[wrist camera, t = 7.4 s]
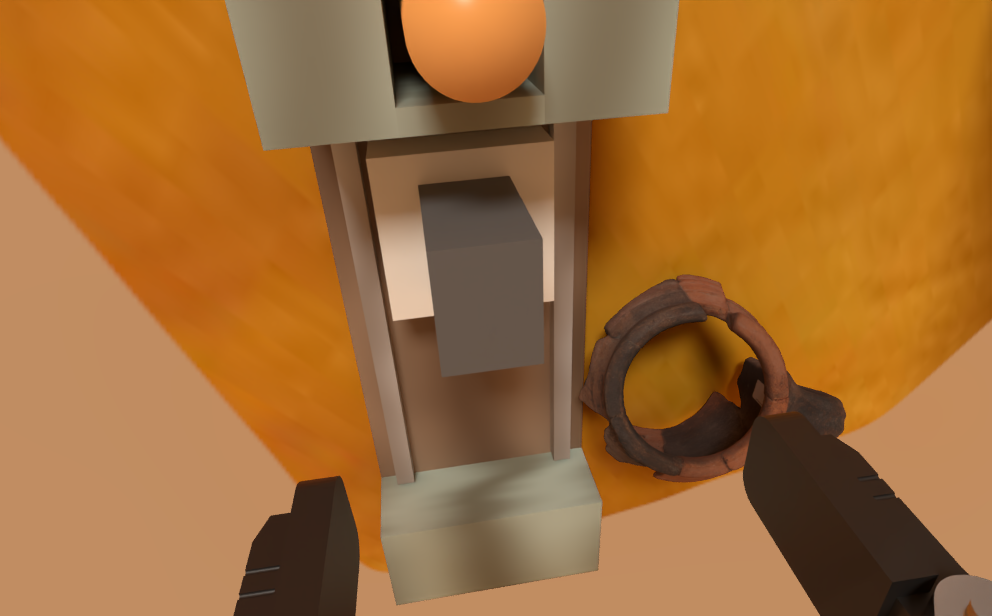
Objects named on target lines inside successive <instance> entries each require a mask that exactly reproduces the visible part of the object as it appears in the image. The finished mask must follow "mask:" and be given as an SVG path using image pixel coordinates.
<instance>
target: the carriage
mask: <svg viewBox="0 0 992 616" xmlns="http://www.w3.org/2000/svg"><path fill="white" fill-rule="evenodd" d="M366 163H367V169H368V175H369V181H370V187H371V193H372V199H373V205H374V211H375V217H376V223H377V229H378V234H379V240H380V246H381V252H382V258H383V264H384V270H385V276H386V282H387V288H388V294H389V300H390V306H391V312H392V318H393V321H397V320H405V319H413V318H421V317H429V316H434V319H435V327H436V335H437V343H438V351H439V359H440V367H441V375H442V377H449V376H456V375H464V374H471V373H479V372H486V371H493V370H501V369H508V368H515V367H523V366H530V365H538V364H544V302H549V301H554V140H553V139H552V138H551V137H550V136H549V134H548V133H547V132H546V131H545V130H544V129H543V127H542V126H541V125H539V126H528V127H517V128H507V129H496V130H485V131H474V132H464V133H453V134H442V135H431V136H421V137H410V138H399V139H389V140H378V141H368V143H367V153H366Z"/></svg>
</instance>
